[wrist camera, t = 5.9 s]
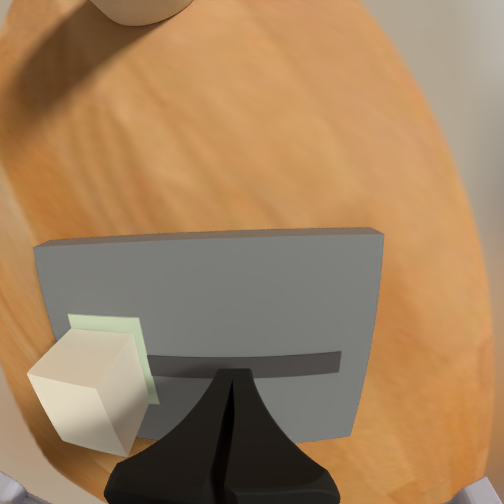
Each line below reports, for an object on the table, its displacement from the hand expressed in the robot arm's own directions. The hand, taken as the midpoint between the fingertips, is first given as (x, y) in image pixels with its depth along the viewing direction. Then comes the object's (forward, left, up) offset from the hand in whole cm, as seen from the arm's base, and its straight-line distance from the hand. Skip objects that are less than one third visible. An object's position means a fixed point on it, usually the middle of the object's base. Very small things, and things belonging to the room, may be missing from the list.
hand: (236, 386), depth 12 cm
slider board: (0, +2, -3) cm, 3 cm away
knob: (0, +6, -1) cm, 6 cm away
